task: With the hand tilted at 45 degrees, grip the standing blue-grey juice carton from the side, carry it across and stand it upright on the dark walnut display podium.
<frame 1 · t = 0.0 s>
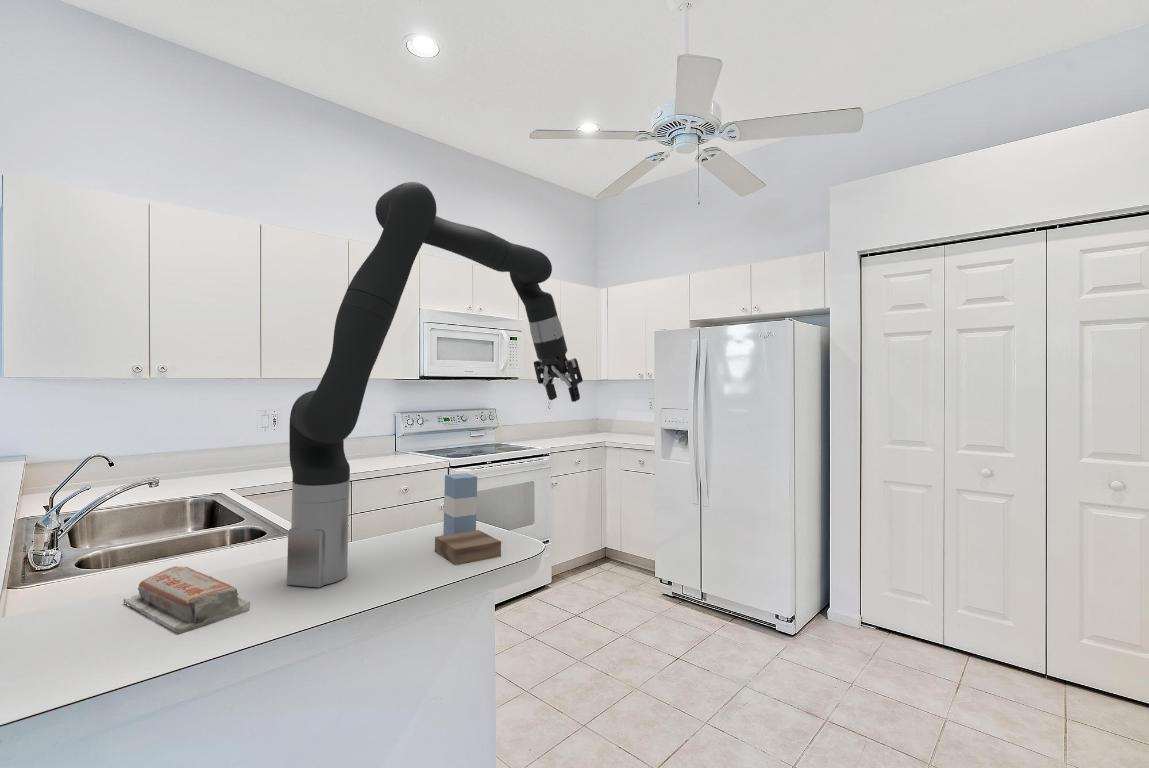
hand: (564, 399, 134), 31 cm above the counter, tool tilted 20°, fingers open, 8 cm apart
carton: (459, 537, 123), on the counter
podium: (467, 553, 112), on the counter
packaged product: (186, 611, 83), on the counter
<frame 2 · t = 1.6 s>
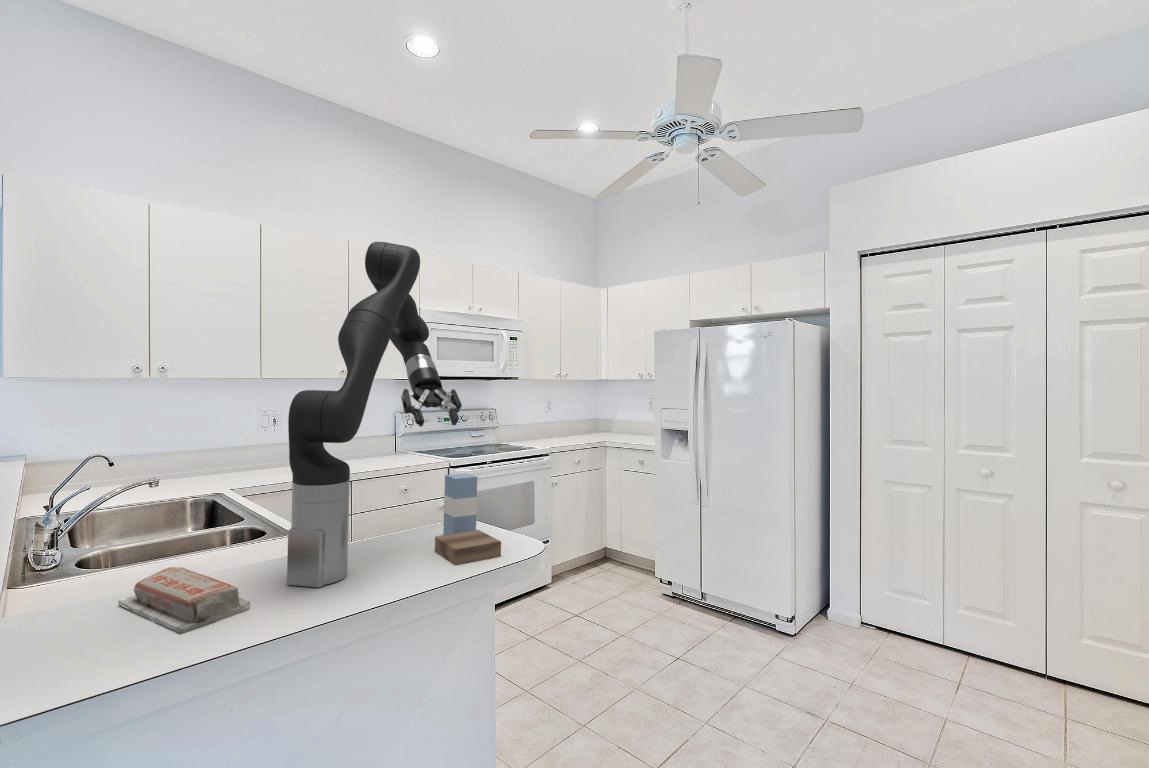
hand: (438, 423, 133), 25 cm above the counter, tool tilted 45°, fingers open, 8 cm apart
nothing on the counter moved.
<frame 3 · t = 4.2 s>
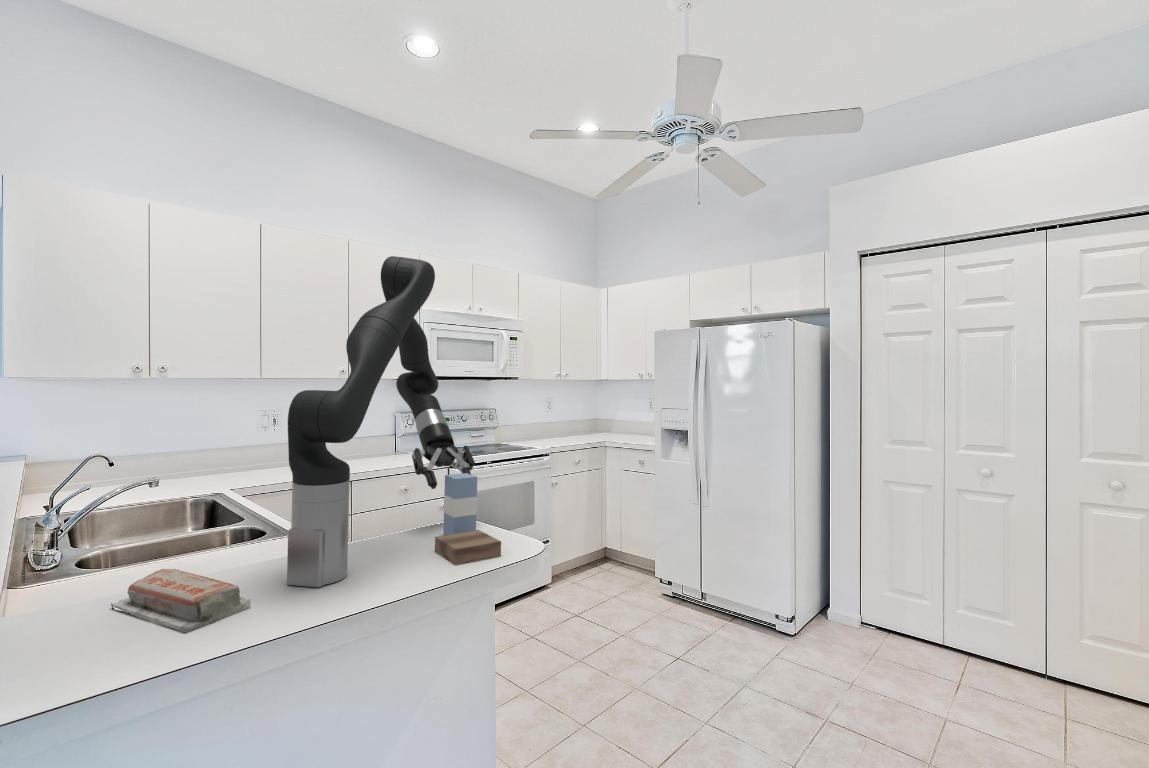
hand: (452, 485, 127), 11 cm above the counter, tool tilted 45°, fingers open, 8 cm apart
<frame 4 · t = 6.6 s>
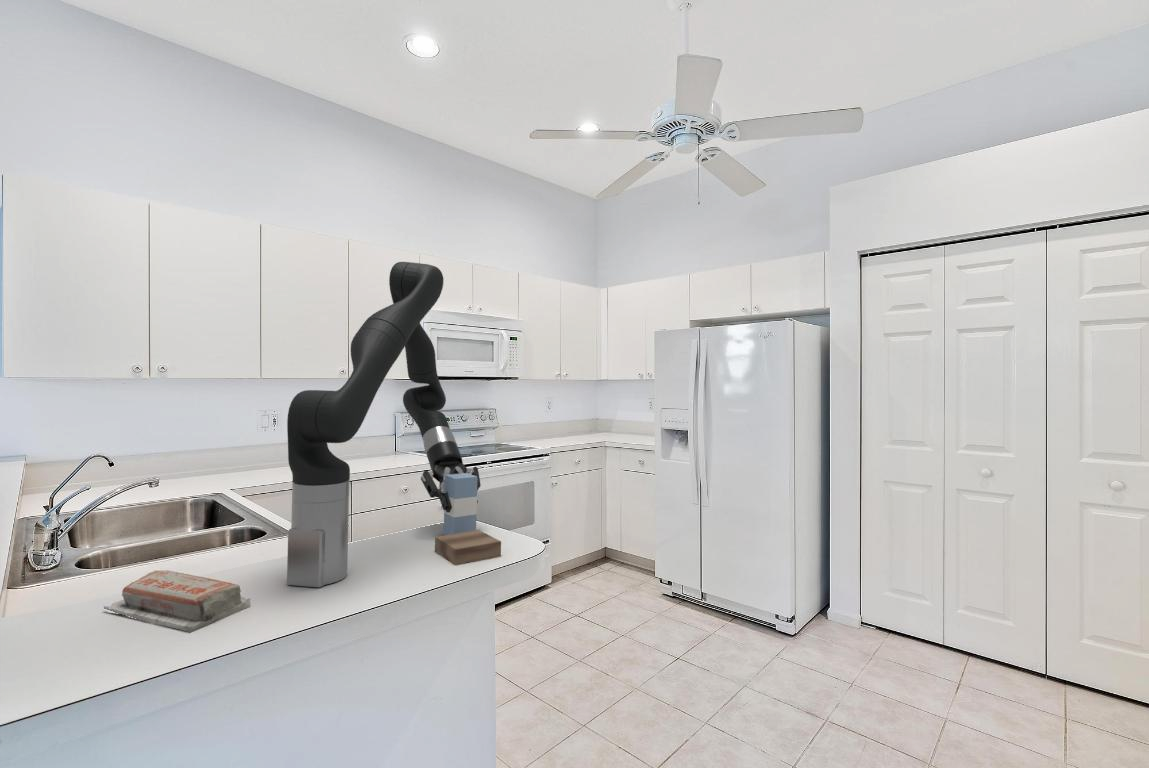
hand: (462, 508, 122), 7 cm above the counter, tool tilted 45°, fingers closed on carton, 5 cm apart
carton: (459, 537, 123), on the counter, touching gripper
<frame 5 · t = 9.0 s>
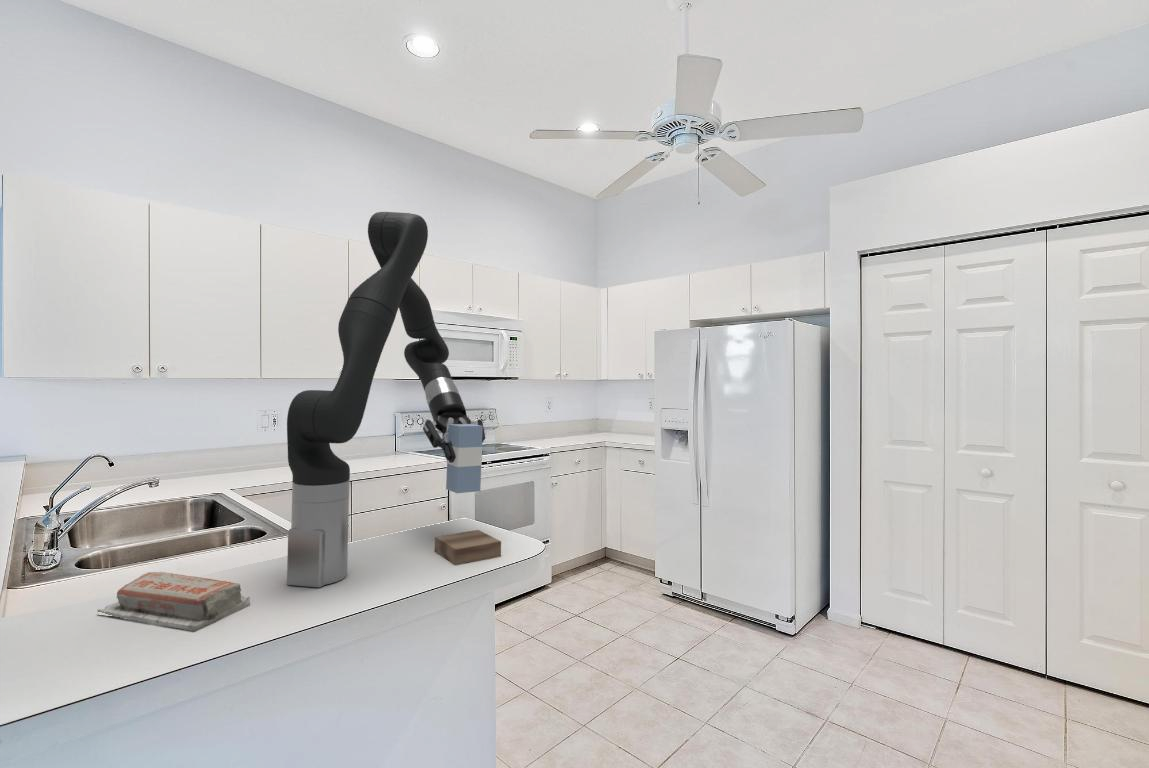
hand: (466, 459, 116), 19 cm above the counter, tool tilted 45°, fingers closed on carton, 5 cm apart
carton: (463, 490, 117), point 12 cm above the counter, touching gripper
when the fingers open (11 cm above the counter, at t = 11.9 s): carton drops 1 cm, resting on podium.
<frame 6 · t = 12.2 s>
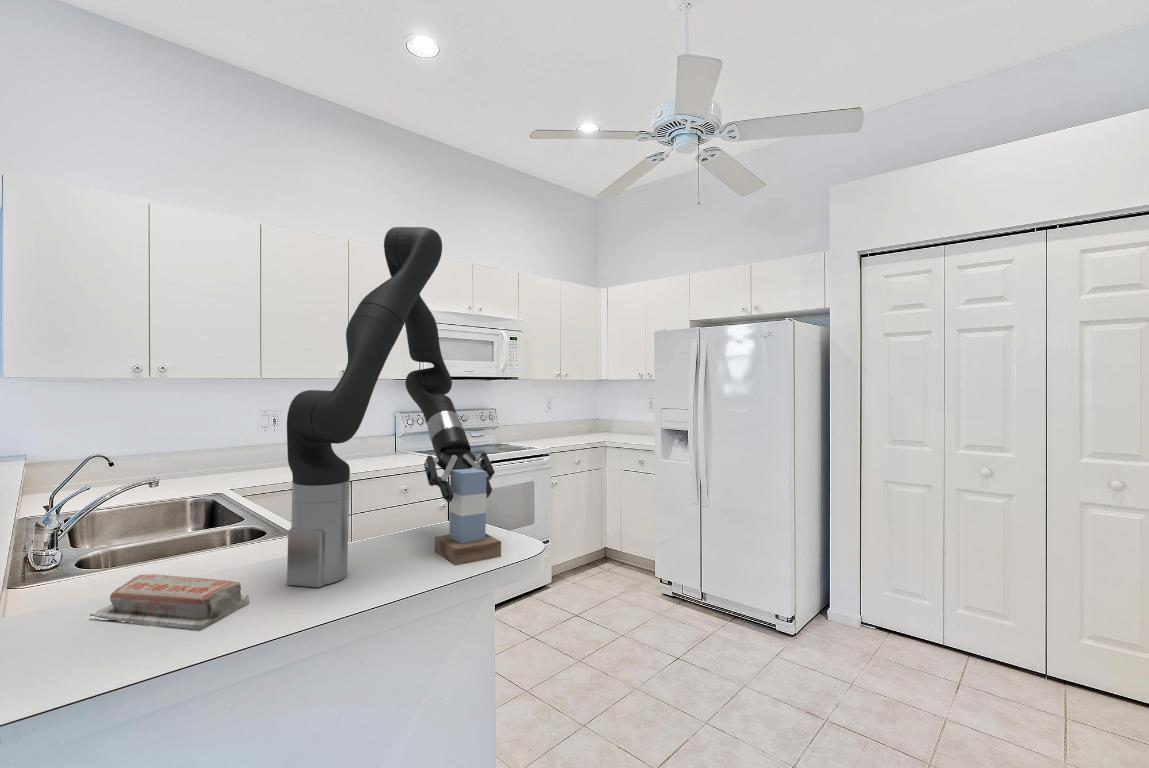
hand: (469, 497, 112), 12 cm above the counter, tool tilted 45°, fingers open, 8 cm apart
carton: (467, 538, 112), point 3 cm above the counter, touching podium
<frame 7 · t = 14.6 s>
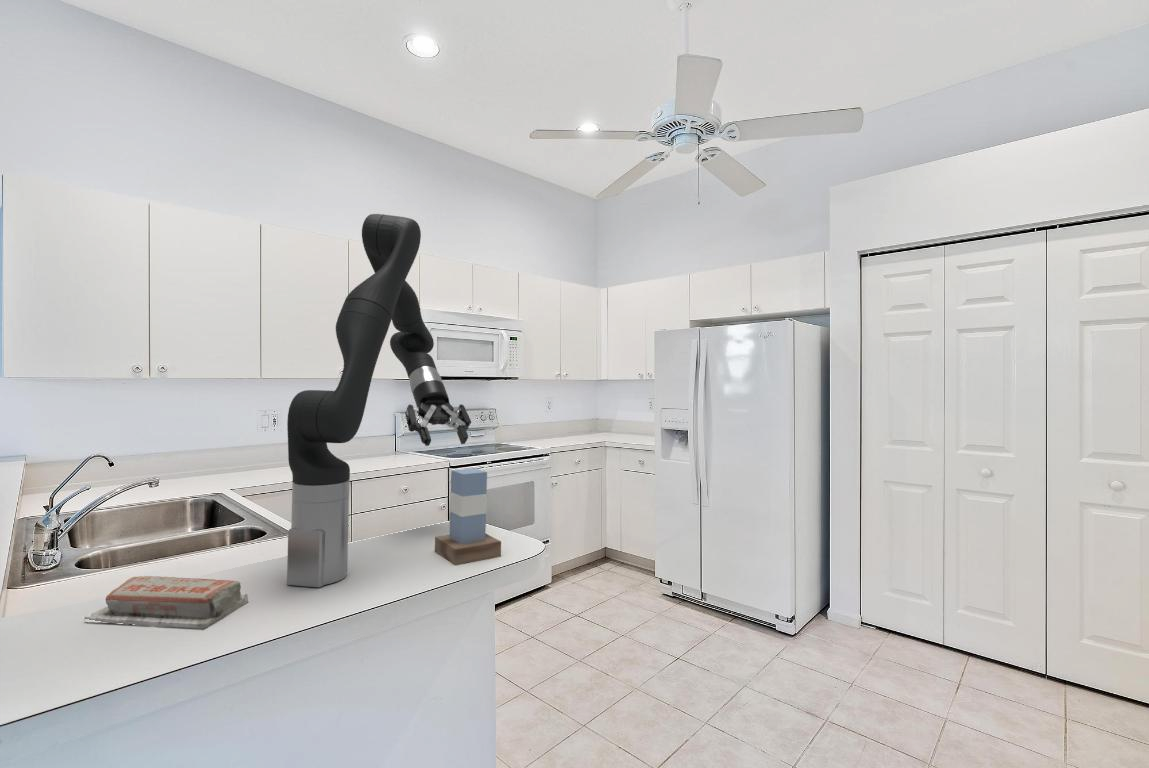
hand: (446, 442, 121), 22 cm above the counter, tool tilted 45°, fingers open, 8 cm apart
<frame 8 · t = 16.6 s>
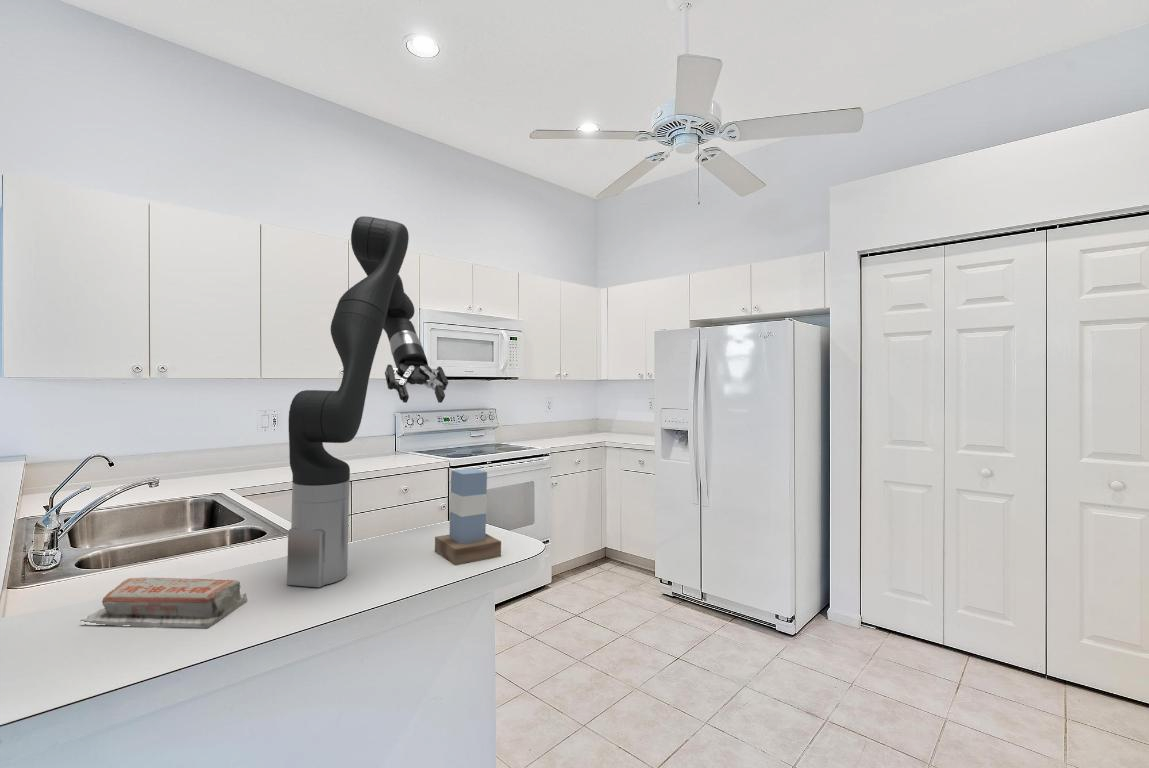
hand: (424, 400, 127), 31 cm above the counter, tool tilted 45°, fingers open, 8 cm apart
at the end: carton 0.2 cm off-centre on the podium, point 3.0 cm above the podium's base; carton tilted 0°; the gripper is holding nothing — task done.
